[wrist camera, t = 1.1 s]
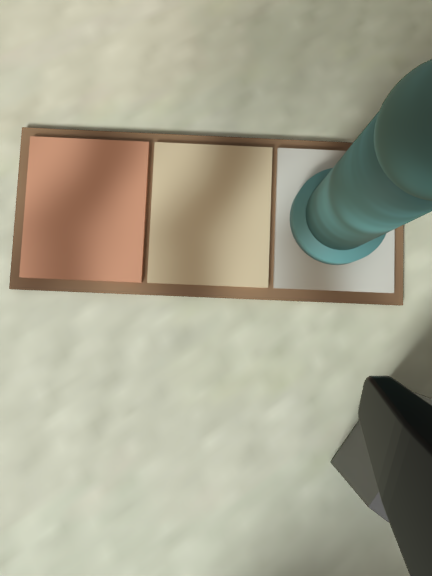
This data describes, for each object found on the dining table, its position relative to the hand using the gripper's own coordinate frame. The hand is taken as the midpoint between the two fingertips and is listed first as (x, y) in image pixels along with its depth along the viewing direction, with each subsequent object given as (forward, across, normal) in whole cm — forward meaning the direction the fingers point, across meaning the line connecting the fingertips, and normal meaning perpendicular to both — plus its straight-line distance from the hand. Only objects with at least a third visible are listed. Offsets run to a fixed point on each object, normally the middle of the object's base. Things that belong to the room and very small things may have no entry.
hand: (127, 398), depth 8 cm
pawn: (+14, -8, +1) cm, 17 cm away
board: (+15, -2, +1) cm, 15 cm away
